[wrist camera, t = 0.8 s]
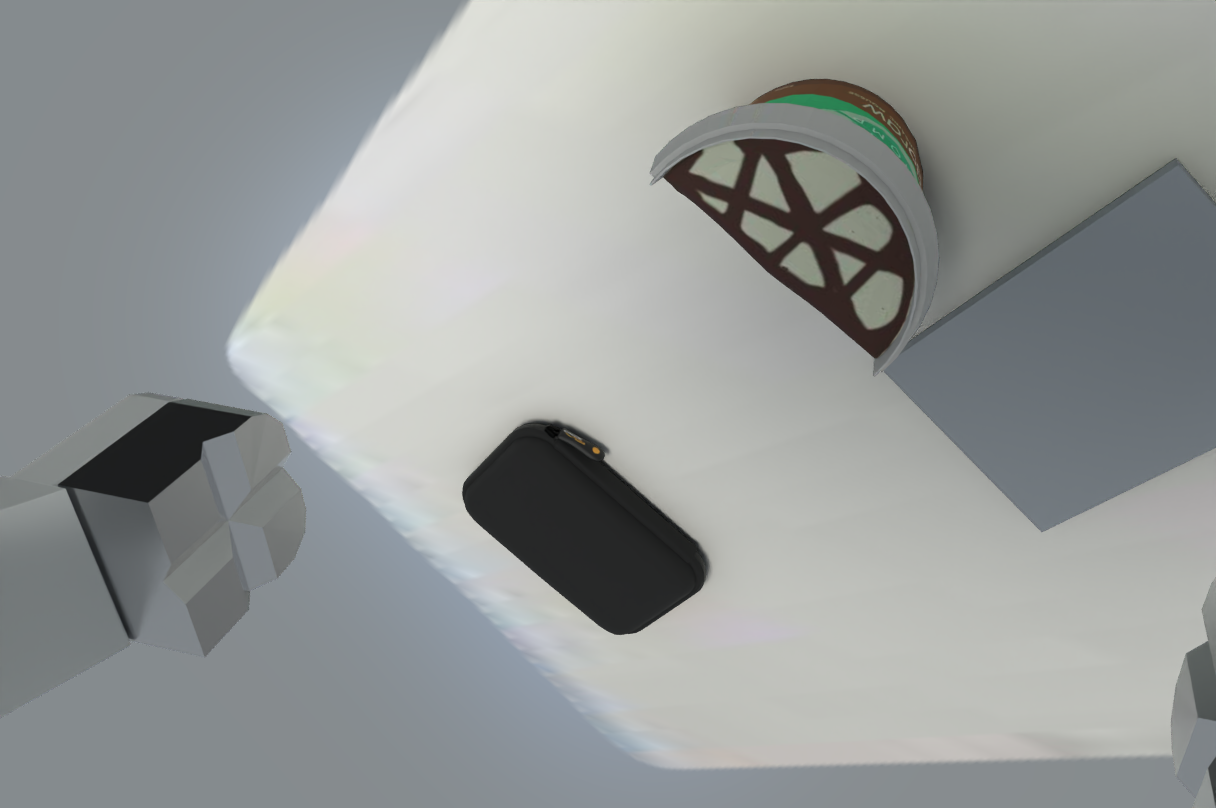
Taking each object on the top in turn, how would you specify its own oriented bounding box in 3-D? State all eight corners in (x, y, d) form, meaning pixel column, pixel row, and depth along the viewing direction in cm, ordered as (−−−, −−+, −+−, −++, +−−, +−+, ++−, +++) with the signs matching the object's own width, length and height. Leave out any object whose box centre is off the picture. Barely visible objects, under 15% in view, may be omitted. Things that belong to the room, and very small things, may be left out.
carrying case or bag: (738, 550, 59) (551, 388, 57) (725, 584, 57) (530, 416, 55) (633, 623, 65) (463, 479, 64) (617, 656, 63) (441, 508, 61)
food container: (1018, 180, 42) (1012, 282, 34) (911, 274, 46) (884, 385, 38) (799, -16, 41) (742, 44, 33) (709, 97, 45) (638, 175, 37)
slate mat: (1176, 157, 39) (1178, 165, 39) (1358, 365, 41) (1363, 375, 40) (882, 359, 48) (880, 367, 48) (1041, 522, 50) (1041, 532, 50)
